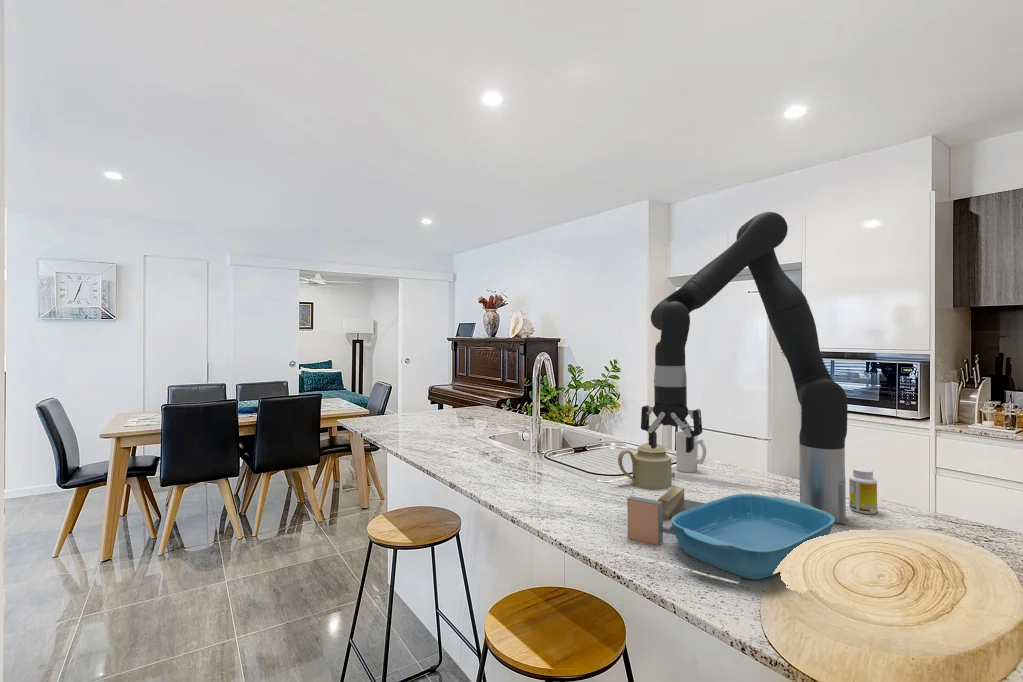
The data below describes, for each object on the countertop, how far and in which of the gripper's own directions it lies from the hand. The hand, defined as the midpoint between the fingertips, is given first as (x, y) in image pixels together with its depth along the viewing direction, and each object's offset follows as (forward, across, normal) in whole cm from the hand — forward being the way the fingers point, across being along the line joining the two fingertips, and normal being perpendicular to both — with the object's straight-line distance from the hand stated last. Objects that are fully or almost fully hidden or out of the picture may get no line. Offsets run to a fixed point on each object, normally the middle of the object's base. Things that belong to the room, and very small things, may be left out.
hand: (670, 450), depth 120 cm
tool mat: (+16, 0, 0) cm, 16 cm away
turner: (+16, 0, +3) cm, 16 cm away
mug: (+16, +7, -42) cm, 45 cm away
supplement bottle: (+16, -38, -29) cm, 51 cm away
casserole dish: (+16, -20, +9) cm, 27 cm away
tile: (+16, 0, +18) cm, 24 cm away
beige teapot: (+16, +13, -19) cm, 28 cm away
